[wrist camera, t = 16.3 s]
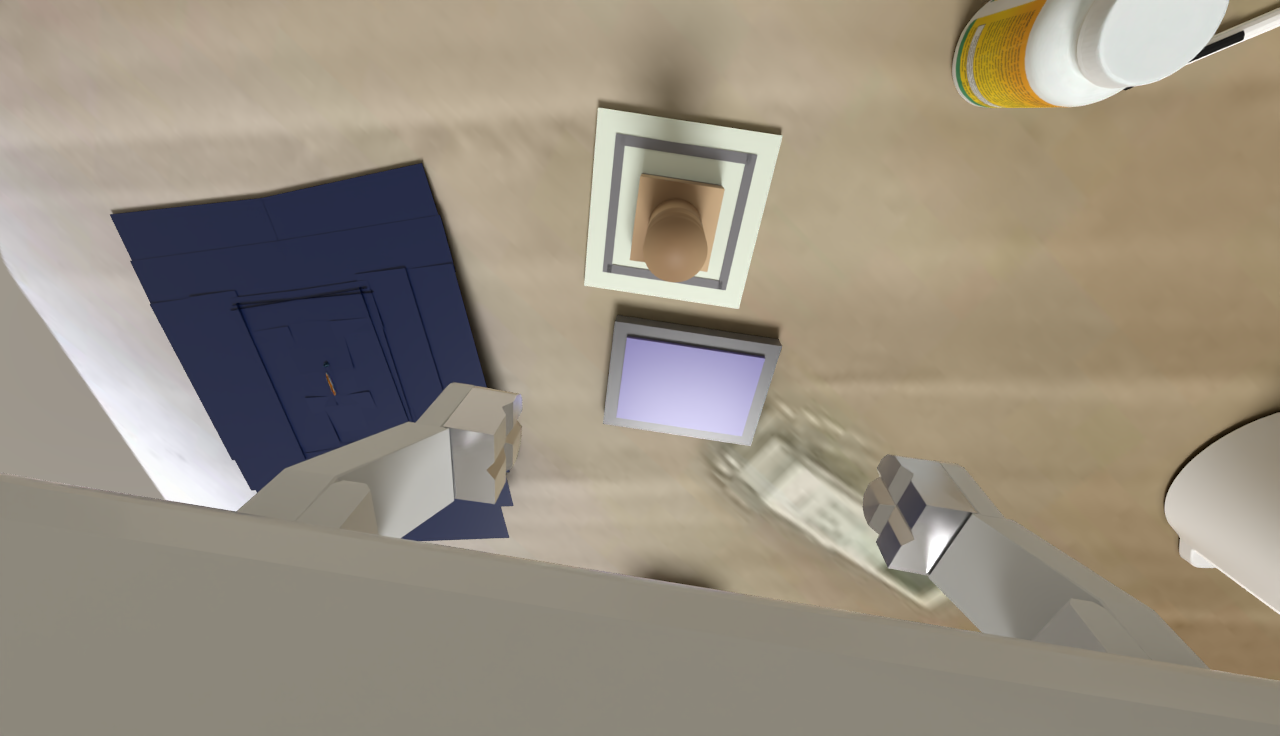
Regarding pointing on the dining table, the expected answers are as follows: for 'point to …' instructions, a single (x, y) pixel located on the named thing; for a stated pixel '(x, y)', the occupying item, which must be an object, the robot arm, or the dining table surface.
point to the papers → (314, 321)
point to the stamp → (675, 225)
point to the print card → (682, 154)
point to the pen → (1239, 34)
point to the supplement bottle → (1076, 48)
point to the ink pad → (688, 379)
